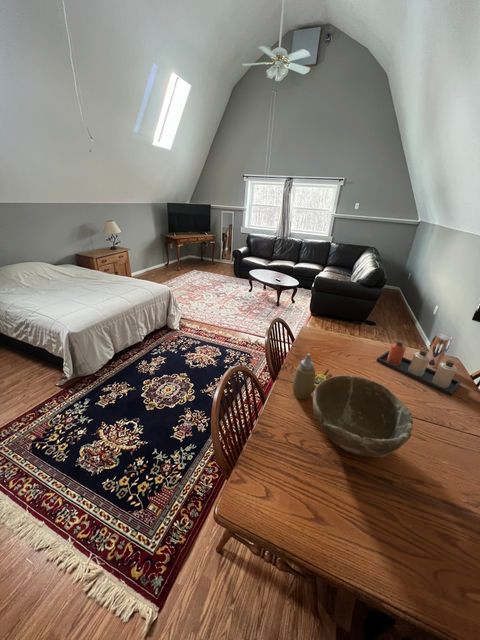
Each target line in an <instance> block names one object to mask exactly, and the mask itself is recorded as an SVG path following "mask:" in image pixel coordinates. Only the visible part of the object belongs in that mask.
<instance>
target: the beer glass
mask: <svg viewBox="0 0 480 640" xmlns="http://www.w3.org/2000/svg"><path fill="white" fill-rule="evenodd" d="M453 340H454V339H453V337H451V336H450V335H448V334H444V333H439V332H437V333H435V334H434V336H433V338H432V340H431V342H430V344H429V349H428V353H427V355H428V356H429V357H430V360H429V362H428V365H427V367H430V368H434V369H437V368H438V366H439V364H440V363H442V360H443V359H444V358H445V356H446V355H447V353H448V352H449V350H450V349H451V345H452V343H453Z"/></svg>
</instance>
